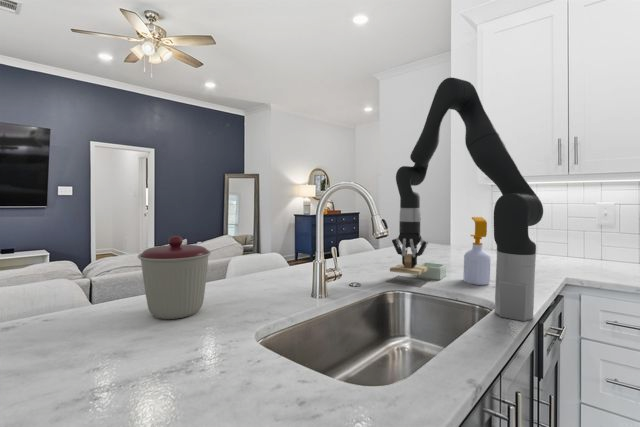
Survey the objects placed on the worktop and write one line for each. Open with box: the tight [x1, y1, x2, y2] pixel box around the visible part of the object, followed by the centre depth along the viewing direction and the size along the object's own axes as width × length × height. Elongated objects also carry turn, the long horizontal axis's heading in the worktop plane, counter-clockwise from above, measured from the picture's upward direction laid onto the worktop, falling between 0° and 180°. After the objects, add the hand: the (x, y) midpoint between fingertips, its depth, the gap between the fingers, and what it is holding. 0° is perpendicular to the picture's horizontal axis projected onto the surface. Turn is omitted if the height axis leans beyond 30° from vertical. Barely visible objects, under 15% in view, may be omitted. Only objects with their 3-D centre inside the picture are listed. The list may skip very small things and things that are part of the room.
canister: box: [137, 235, 212, 320], centre depth 93 cm, size 18×18×21 cm
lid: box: [389, 253, 429, 276], centre depth 128 cm, size 11×11×6 cm
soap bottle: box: [462, 216, 491, 286], centre depth 129 cm, size 9×9×25 cm
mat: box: [385, 275, 431, 288], centre depth 129 cm, size 13×13×1 cm
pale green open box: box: [416, 261, 447, 281], centre depth 136 cm, size 9×9×5 cm
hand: (409, 266), depth 128 cm, fingers closed on lid, 2 cm apart
